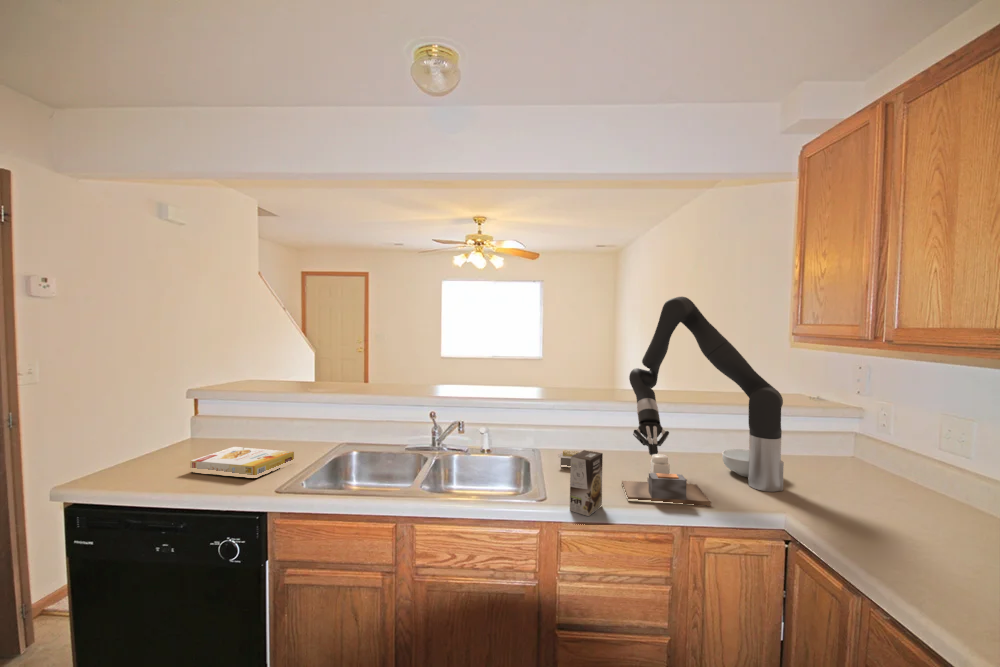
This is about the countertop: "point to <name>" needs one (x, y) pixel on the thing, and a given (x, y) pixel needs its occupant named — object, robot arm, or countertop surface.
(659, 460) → the plunger knob
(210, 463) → the cereal box
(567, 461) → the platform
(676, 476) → the knob mount
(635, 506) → the countertop surface
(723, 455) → the cereal bowl
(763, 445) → the robot arm
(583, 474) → the coffee box
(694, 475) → the countertop surface
